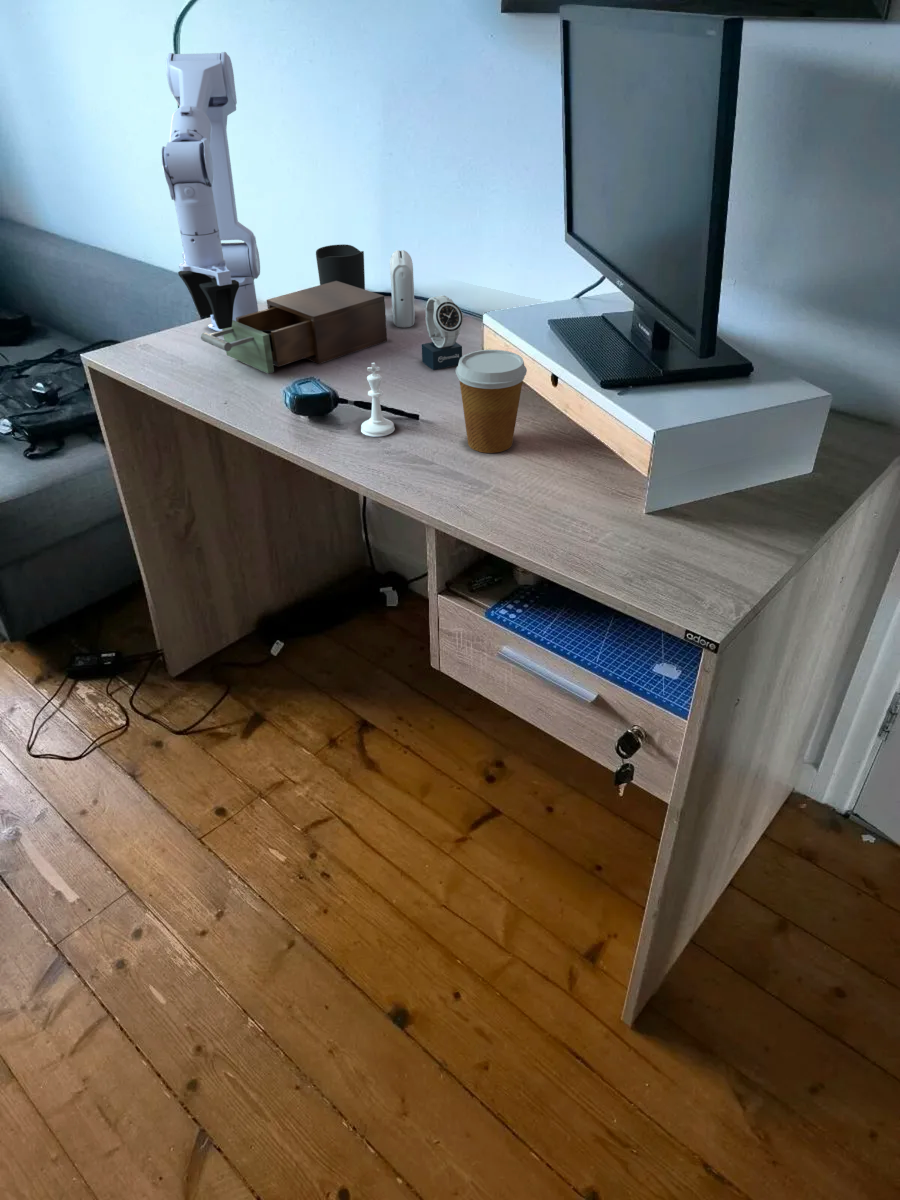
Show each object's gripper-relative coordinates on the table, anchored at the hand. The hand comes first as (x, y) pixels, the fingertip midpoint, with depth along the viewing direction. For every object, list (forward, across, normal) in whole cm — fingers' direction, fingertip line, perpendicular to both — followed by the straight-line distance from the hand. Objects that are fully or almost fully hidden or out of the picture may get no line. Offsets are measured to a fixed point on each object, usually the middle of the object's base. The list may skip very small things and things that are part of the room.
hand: (215, 321), depth 137 cm
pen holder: (+9, -24, +36) cm, 44 cm away
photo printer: (+10, -7, +40) cm, 41 cm away
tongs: (+7, -2, +10) cm, 13 cm away
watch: (+10, +17, +32) cm, 38 cm away
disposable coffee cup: (+10, +46, +20) cm, 51 cm away
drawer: (+8, -2, +9) cm, 12 cm away
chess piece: (+10, +33, +10) cm, 35 cm away
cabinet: (+9, -4, +22) cm, 24 cm away
